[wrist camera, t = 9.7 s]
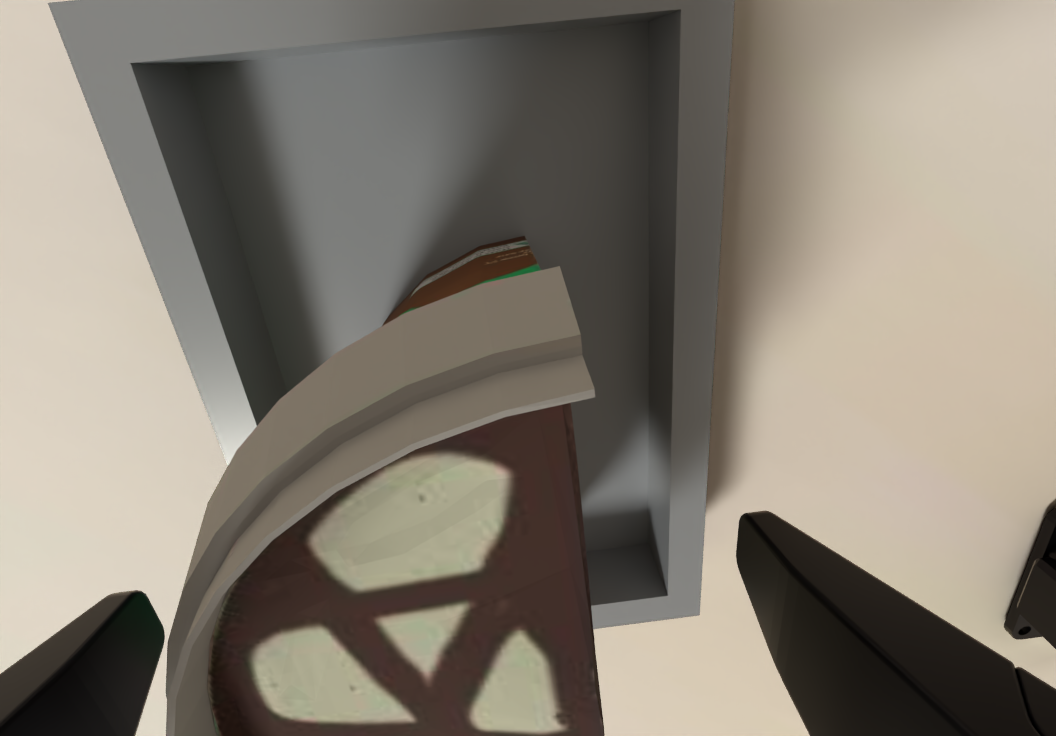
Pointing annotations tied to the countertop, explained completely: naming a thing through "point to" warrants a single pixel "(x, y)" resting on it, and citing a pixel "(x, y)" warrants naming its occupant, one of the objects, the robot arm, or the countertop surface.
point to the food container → (405, 532)
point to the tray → (439, 209)
